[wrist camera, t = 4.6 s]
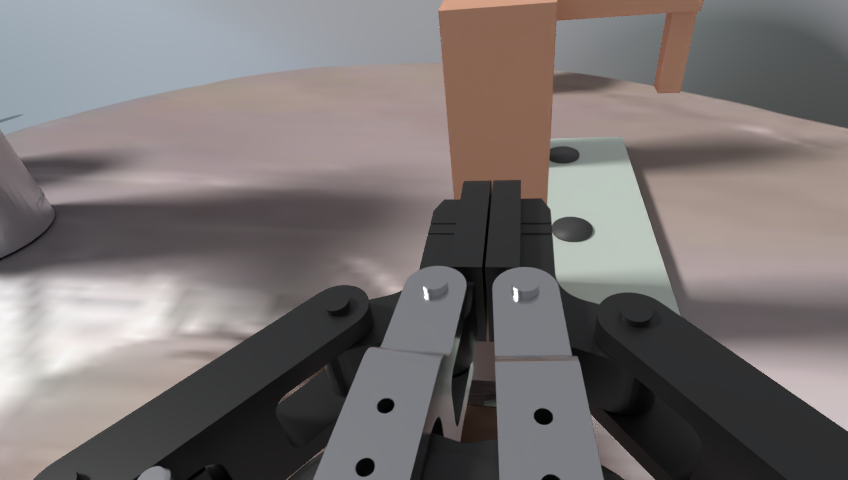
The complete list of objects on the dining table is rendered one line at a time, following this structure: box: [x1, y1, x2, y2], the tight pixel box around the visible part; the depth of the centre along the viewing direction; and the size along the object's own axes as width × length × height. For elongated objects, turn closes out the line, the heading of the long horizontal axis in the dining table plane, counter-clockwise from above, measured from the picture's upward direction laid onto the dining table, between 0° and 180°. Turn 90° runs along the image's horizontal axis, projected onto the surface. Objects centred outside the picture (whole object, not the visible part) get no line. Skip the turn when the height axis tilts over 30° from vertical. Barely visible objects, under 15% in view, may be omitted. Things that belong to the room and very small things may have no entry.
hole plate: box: [484, 137, 681, 407], centre depth 33 cm, size 26×10×1 cm, turn 171°
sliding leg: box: [439, 0, 703, 205], centre depth 23 cm, size 4×9×15 cm, turn 81°
